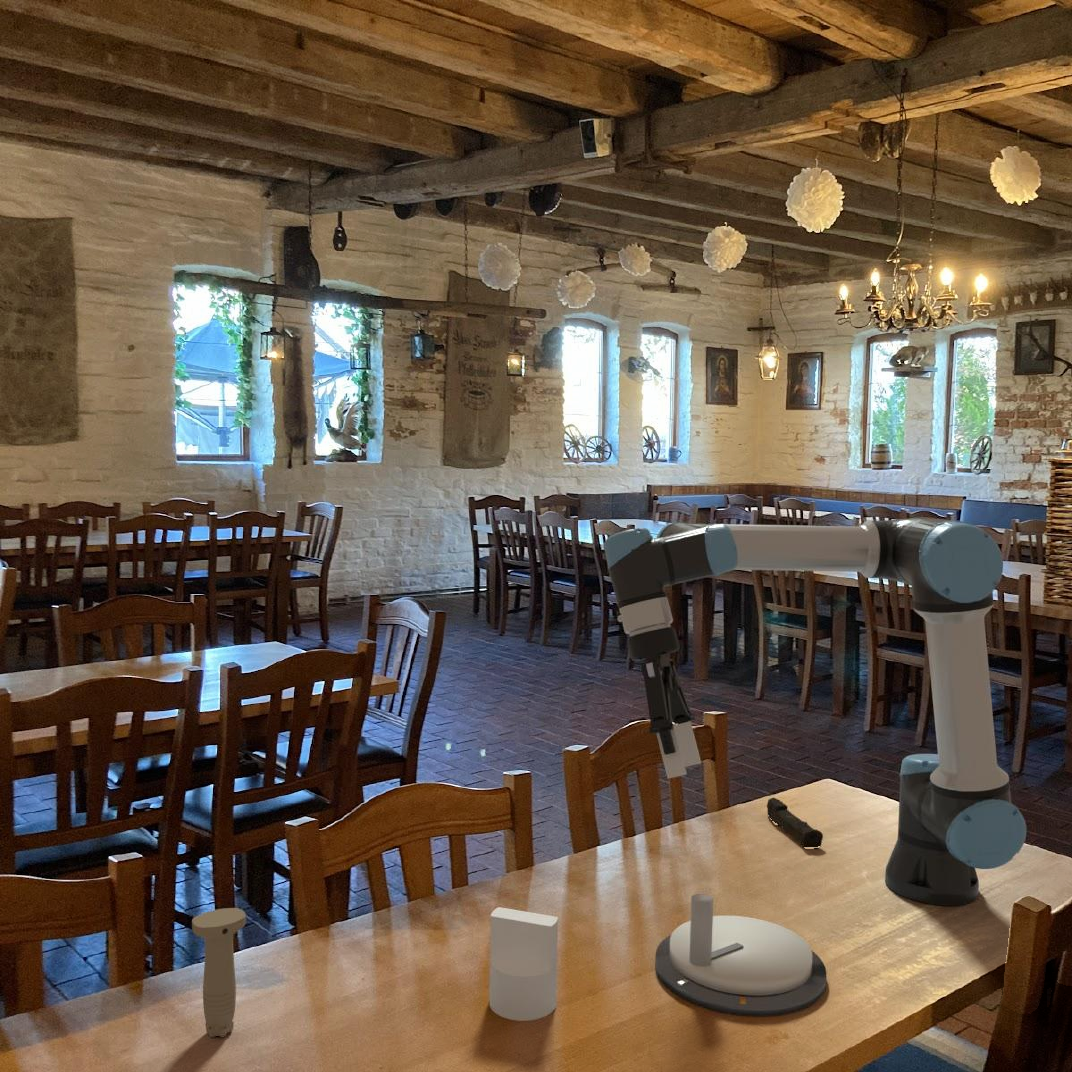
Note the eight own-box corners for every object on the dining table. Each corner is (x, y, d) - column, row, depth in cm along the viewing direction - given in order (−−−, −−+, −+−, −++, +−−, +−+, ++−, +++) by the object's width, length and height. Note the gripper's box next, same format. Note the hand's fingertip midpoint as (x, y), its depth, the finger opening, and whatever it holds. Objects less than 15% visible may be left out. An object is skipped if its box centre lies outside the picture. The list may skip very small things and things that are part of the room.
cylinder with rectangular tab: (564, 993, 146) (566, 908, 145) (543, 1026, 137) (545, 936, 136) (503, 981, 148) (504, 898, 148) (479, 1013, 140) (480, 925, 139)
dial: (736, 916, 166) (738, 848, 165) (841, 968, 150) (844, 893, 149) (640, 950, 154) (642, 877, 153) (743, 1010, 138) (746, 929, 137)
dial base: (787, 930, 166) (788, 918, 166) (855, 1010, 142) (855, 998, 142) (637, 937, 162) (638, 926, 162) (681, 1021, 139) (681, 1008, 139)
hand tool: (823, 850, 200) (824, 826, 200) (803, 851, 199) (804, 827, 199) (780, 816, 219) (781, 794, 218) (762, 817, 218) (763, 795, 217)
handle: (188, 1030, 134) (187, 916, 133) (238, 1016, 138) (237, 904, 137) (199, 1049, 130) (199, 931, 129) (251, 1033, 134) (250, 918, 133)
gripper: (642, 636, 173) (675, 765, 170) (606, 637, 150) (644, 787, 146) (687, 625, 171) (721, 755, 168) (657, 624, 148) (696, 776, 144)
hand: (685, 770), depth 157 cm, fingers open, 13 cm apart
